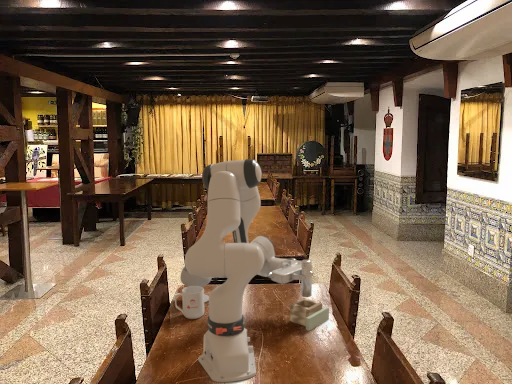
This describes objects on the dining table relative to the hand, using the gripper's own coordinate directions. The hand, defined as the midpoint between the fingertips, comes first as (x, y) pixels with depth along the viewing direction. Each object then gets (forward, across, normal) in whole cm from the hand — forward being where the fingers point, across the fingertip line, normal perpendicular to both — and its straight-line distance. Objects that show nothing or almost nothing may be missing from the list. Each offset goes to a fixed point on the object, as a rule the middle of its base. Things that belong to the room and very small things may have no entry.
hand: (308, 276), depth 172 cm
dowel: (-1, 0, +8) cm, 8 cm away
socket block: (-1, 0, +18) cm, 19 cm away
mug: (-41, -26, +19) cm, 52 cm away
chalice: (-52, -13, +19) cm, 57 cm away
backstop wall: (+4, 0, +19) cm, 19 cm away
